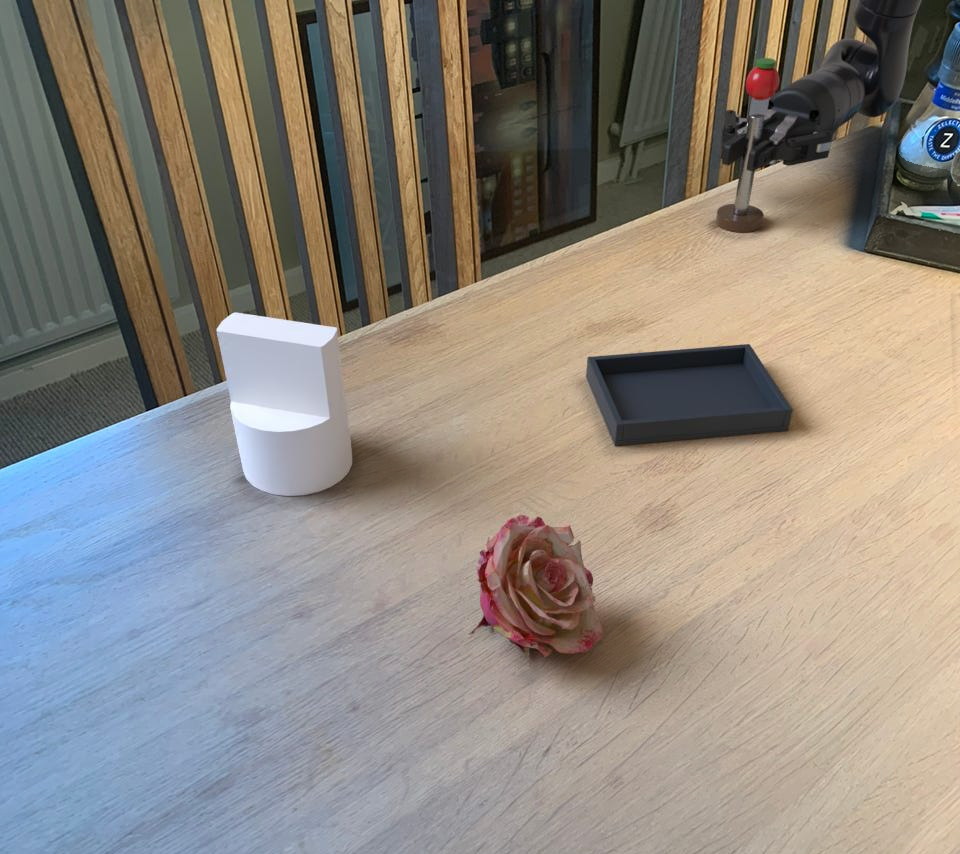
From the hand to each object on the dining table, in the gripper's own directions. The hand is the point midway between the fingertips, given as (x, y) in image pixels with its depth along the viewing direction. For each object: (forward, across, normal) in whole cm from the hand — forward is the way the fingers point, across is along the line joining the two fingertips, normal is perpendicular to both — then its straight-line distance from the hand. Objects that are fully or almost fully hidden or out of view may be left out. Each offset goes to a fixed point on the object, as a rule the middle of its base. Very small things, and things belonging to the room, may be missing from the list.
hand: (738, 158), depth 111 cm
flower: (+66, +20, +8) cm, 70 cm away
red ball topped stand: (-3, 0, +8) cm, 9 cm away
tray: (+35, +13, +8) cm, 38 cm away
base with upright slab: (+61, -8, +8) cm, 63 cm away
